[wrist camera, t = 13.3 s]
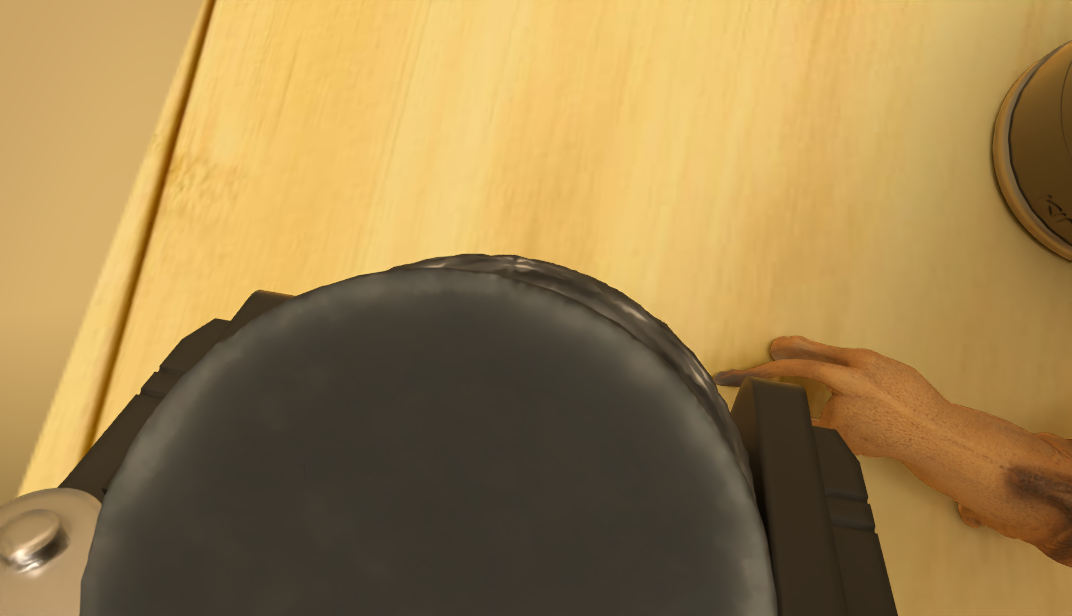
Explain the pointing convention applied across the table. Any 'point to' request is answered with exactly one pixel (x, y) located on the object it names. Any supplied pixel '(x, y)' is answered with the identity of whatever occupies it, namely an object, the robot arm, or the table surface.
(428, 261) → the pill bottle
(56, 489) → the robot arm
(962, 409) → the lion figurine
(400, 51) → the table surface
